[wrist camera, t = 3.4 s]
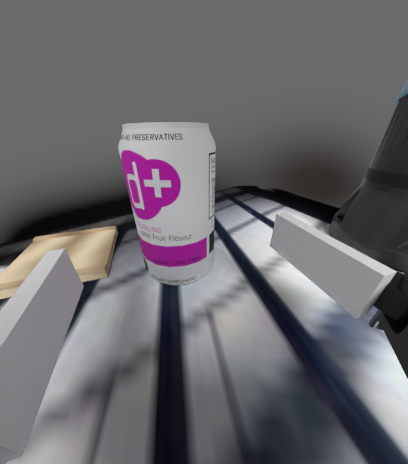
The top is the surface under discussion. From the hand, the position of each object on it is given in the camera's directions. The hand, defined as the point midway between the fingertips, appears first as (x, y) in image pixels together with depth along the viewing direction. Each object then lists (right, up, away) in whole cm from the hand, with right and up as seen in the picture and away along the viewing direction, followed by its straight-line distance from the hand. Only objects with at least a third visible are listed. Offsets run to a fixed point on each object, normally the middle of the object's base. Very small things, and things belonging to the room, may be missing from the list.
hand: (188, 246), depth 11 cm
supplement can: (-2, -3, +11) cm, 11 cm away
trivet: (-17, -3, +12) cm, 21 cm away
